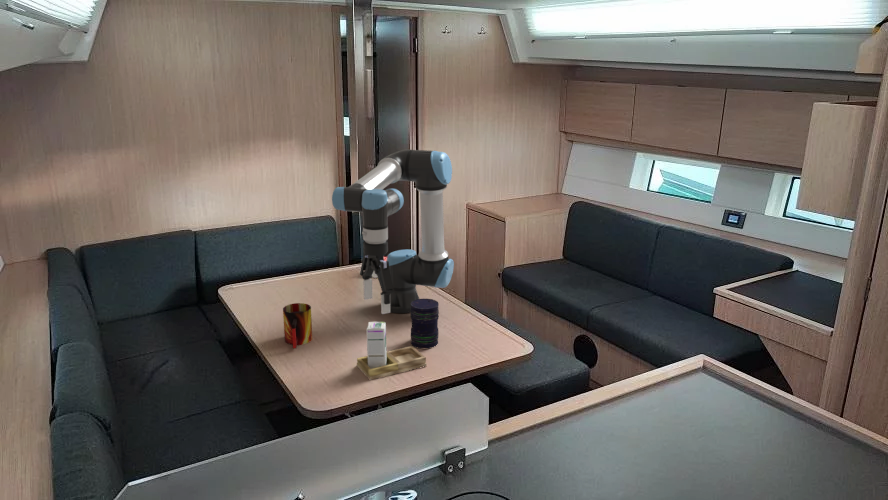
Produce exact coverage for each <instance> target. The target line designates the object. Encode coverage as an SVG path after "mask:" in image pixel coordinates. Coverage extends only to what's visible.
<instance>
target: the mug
mask: <svg viewBox="0 0 888 500" xmlns="http://www.w3.org/2000/svg"><path fill="white" fill-rule="evenodd" d="M282 316H283V317H282V318H283V330H284V331H283V332H284V333H283V334H284V342H285V343H286V344H288V345H291V346H292V348H293V349H297V346H302V345H306V344H309V343H310V342H311V341H312V340H313V324H312V323H313V321H312V306H311V305H309V303H304V302H303V303H301V302H295V303H290V304H287V305H284V306H283V307H282Z"/></svg>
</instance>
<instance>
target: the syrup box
mask: <svg viewBox="0 0 888 500" xmlns="http://www.w3.org/2000/svg"><path fill="white" fill-rule="evenodd" d="M386 323H387V322H385V321H368V323H367V326H366V347H367V348H366V351H367V355H366V356H368V366H369V367H370V368H371V369H372V368H377V367H381V366H385V365H387V326H386V325H387V324H386Z"/></svg>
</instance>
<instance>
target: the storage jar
mask: <svg viewBox="0 0 888 500" xmlns="http://www.w3.org/2000/svg"><path fill="white" fill-rule="evenodd" d="M439 303H440V302H438V301H437V300H435V299H432V298H419V299H417V300H414V301H412V302H411V312H410V319H411V327H410V340H411V341H410V345H411V344H412V345H413V347H414V348H416V347H418V348H417V349H421V348H428V349H431V348H430V347H433V348H435V347H437V346H438V345H439V325H438V322H439V321H438V320H439V316H440V315H439V314H440V313H439ZM437 344H438V345H437ZM412 345H411V346H412ZM436 345H437V346H436ZM434 346H435V347H434Z"/></svg>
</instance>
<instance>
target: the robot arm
mask: <svg viewBox="0 0 888 500" xmlns="http://www.w3.org/2000/svg"><path fill="white" fill-rule="evenodd" d="M452 166H453V164H452V161H451V159H450V157H449V155H448V154H447V153H446V152H445V151H437V150H421V149H401V150H399V151H395V152H393V153H391V154H389V155H386V156H385V157H383V158H382V159H381V160H379V161H378V163H377V166H375V167H374V168H372V169H371V170H370V171H369V172H367V173H366V174H365V175H363V176H362V177H361V178H359V179H358V180H356V181H355V182H354V183H352V184H351V185H349V186H347V187H346V186H338V187H335V188H334V190H333V192H332V195H331V203H332V206H333V208H334V209H335V210H338V211H343V212H352V213H353V212H355V213H362V232H361V234H362V237H363V238H362V239H363V242H362V243H363V245H362V246H363V247H362V249H363V251H362V252H363V258H362V262H361V267H360V271H359V275H360V276H362V277H361V278H362V279H363V282H362V283H363V299H364V301H367V300H369V299H370V300H371V299H373V277H372V274H373V271H374V272H375V274H376V275H377V277H378V278H377V279H378V283H379V286H380V290H381V292H380V310H381V314H382V315H386V314H390V313H394V314H409V313H411V302H412V301H414V300H417V299H420V297H419V294H418V291H417V287H416V286H423V287H429V288H430V287H431V288H435V289H436V288H442V289H443V288H446V287H448V285H449V284H450V282H451V280H452V276H453V273H454V267H455V262H454V260H453V259H452V258H449V252H448V251H447V250H446V249H445V229H444V228H445V223H444V220H445V219H444V191H445V190H446V189H447V188H448V185H449V184H450V183H451V181H452V177H453V176H452V174H453V167H452ZM399 181H404V182H414V183H415V189H416V190H417V191H418V192H419V201H420V203H419V205H420V227H421V228H420V229H421V250H420V251H419V252H418V254H417V251H416V250H414V249H410V248H409V249H398V250H395V251H392V252H390V253H388V252H389V241H388V239H389V225H388V221H389V220H388V217H390V216H392V215H393V214H395V213H397V212H398V211H399V210H401V208H402V207H403V206H404V203H405V201H404V200H405V199H404V195H403V193H402V192H401V191H400V190H398V189H397V188H387V189H385V188H386V187H388V186H389V185H390V184H395V183H398V182H399ZM384 189H385V190H384ZM386 254H387V256H386V257H387V261H384V257H385V255H386Z"/></svg>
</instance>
